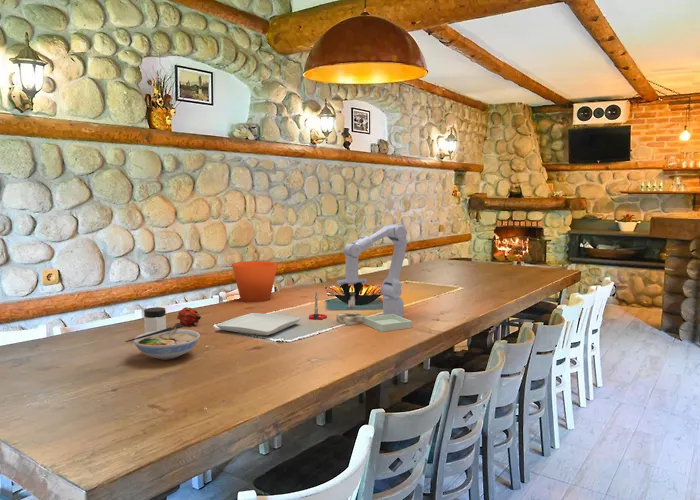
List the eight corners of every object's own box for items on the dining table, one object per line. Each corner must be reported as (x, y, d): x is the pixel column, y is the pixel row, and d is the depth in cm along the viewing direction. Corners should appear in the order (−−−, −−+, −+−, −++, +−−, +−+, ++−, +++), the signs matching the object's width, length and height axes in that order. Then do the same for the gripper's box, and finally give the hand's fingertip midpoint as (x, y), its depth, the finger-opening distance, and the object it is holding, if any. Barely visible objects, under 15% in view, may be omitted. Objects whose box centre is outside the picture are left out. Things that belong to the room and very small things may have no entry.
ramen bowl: (160, 372, 180) (159, 348, 179) (117, 360, 192) (116, 337, 191) (216, 353, 201) (215, 331, 200) (174, 343, 213) (173, 323, 212)
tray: (392, 320, 254) (393, 313, 253) (411, 327, 240) (412, 321, 240) (363, 323, 246) (363, 317, 246) (381, 331, 233) (381, 324, 232)
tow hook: (311, 315, 264) (306, 319, 255) (311, 289, 263) (307, 292, 254) (328, 316, 263) (324, 320, 254) (328, 290, 262) (324, 292, 253)
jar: (167, 339, 219) (166, 310, 217) (146, 342, 215) (145, 312, 214) (164, 334, 227) (163, 306, 225) (144, 336, 223) (142, 308, 222)
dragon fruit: (180, 325, 248) (198, 333, 242) (168, 318, 241) (187, 325, 235) (190, 309, 251) (208, 316, 245) (179, 301, 244) (197, 308, 238)
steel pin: (353, 306, 252) (353, 291, 252) (357, 308, 249) (358, 293, 248) (345, 307, 250) (345, 292, 250) (349, 308, 247) (349, 293, 246)
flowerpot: (287, 298, 305) (287, 263, 303) (257, 305, 284) (256, 268, 282) (254, 293, 319) (253, 259, 317) (222, 300, 298) (221, 264, 296)
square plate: (302, 325, 245) (302, 316, 245) (268, 340, 220) (268, 330, 220) (252, 319, 256) (252, 311, 256) (214, 332, 232) (214, 323, 231)
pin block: (355, 318, 257) (355, 312, 257) (365, 322, 248) (365, 316, 248) (336, 320, 252) (336, 314, 252) (346, 325, 244) (346, 318, 243)
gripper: (361, 268, 255) (361, 296, 256) (333, 270, 248) (333, 299, 249) (369, 270, 248) (368, 299, 250) (340, 272, 242) (340, 302, 243)
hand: (351, 299), depth 249 cm, fingers closed on steel pin, 4 cm apart
